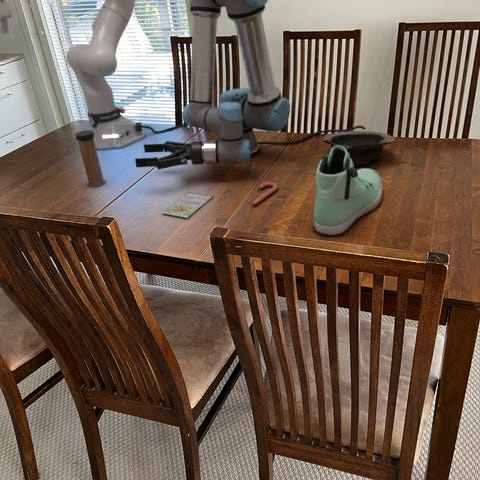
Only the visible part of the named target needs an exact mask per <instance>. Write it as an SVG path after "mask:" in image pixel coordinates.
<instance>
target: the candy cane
mask: <svg viewBox="0 0 480 480" xmlns="http://www.w3.org/2000/svg"><path fill="white" fill-rule="evenodd" d="M267 187H271V188H269V190H267V191H266V192H264V193H262V195H260V196H259V197H257V198H256V199H255V200H253V201H252V205H253V206H257V205H258V204H260V203H261V202H262V201H264V200H265V199H266V198H268V197H269V196H271V195H272V194H274V193H276V191H277V190H278V189H279V185H278V184H277V183H275V182H272V181H266V182H263V183H262V182H261V184H260V185H259V186H258V188H259V190H263V189H264V188H267Z"/></svg>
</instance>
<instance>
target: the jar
mask: <svg viewBox="0 0 480 480" xmlns="http://www.w3.org/2000/svg"><path fill="white" fill-rule="evenodd" d="M77 143H78V147H79V151H80V155H81V158H82V162H83V167H84V170H85V174H86V178H87V182H88V186H89V187H92V188H96V187H101V186H102V185H104V184H105V179H104V176H103V172H102V168H101V163H100V159H99V154H98V150H97V148H96V146H95V142H94V138H92V139H90V140H86V141H78V140H77Z"/></svg>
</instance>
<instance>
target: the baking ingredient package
mask: <svg viewBox="0 0 480 480" xmlns="http://www.w3.org/2000/svg"><path fill="white" fill-rule="evenodd" d="M211 198H212V196H209V195H204V194H197V193H192V192H187V193H186V194H184V195H183V196H182V197H181V198H180V199H178V200H177V201H175V203H173V204H172V205H170V206H169V207H168V208H167V209H165V210H164V211H163V212H162V214H165V215H168V216H169V215H171V216H175V217H180V218H189V217H190V216H191V215H192V214H194V213H195V212H196V211H197V210H198V209H199V208H201V207H202V206H203V205H204V204H205V203H207V202H208V201H209V200H210V199H211Z"/></svg>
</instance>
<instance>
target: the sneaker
mask: <svg viewBox="0 0 480 480" xmlns="http://www.w3.org/2000/svg"><path fill="white" fill-rule="evenodd" d="M317 165H318V166H317V168H316V172H315V201H314V207H313V225H314V229H315V231H316V232H318V233H320V234H323V235H326V236H327V235H328V236H336V235H339V234H342V233H344V232H345V231H347V230H348V229H349V228H350V227H351V226H352V225H353V224H354V222H356V221H357V220H358V219H359V218H360V217H362V216H363V215H365V214H367V213H370V212H372V210H374V209H375V208H377V207H378V205H380V203H381V200H382V196H383V184H382V183H383V182H382V179H381V176H380V175H379V173H378V172H377V171H376V170H374V169H372V168H367V167H365V168H358V169H357V168H355V166H353V161H352V159H350V156H349V153H348V152H347V150H346V149H345V148H344V147H342V146H334V147H333V148H332V149H330V151H329V154H327V155H326V156H325V157H324V158H322V159H321V160H320V161H319V163H318V164H317ZM343 230H344V231H343ZM319 231H320V232H319ZM322 232H323V233H322ZM339 232H340V233H339ZM326 233H327V234H326ZM328 233H329V234H328ZM335 233H337V234H335Z"/></svg>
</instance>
